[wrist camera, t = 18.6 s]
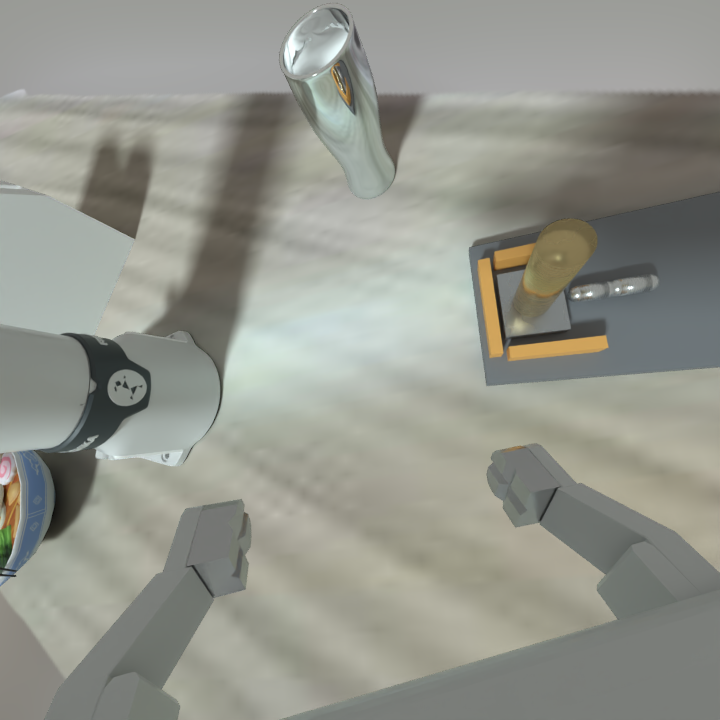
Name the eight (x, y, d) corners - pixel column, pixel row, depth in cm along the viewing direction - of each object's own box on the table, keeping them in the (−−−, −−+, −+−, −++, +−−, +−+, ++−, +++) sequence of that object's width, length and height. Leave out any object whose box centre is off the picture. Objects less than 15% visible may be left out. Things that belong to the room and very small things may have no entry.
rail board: (486, 385, 29) (488, 383, 26) (468, 254, 32) (469, 237, 29) (843, 357, 22) (910, 347, 18) (783, 186, 24) (832, 152, 21)
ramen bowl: (98, 425, 48) (28, 429, 40) (84, 586, 44) (3, 624, 36) (9, 433, 56) (-63, 437, 48) (-10, 569, 52) (-93, 597, 44)
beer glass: (410, 175, 36) (372, 26, 22) (362, 214, 37) (299, 97, 23) (380, 141, 38) (328, -15, 24) (336, 178, 39) (263, 52, 25)
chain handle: (504, 339, 28) (525, 299, 18) (495, 279, 29) (510, 208, 19) (661, 320, 24) (803, 255, 14) (644, 251, 25) (764, 144, 15)
